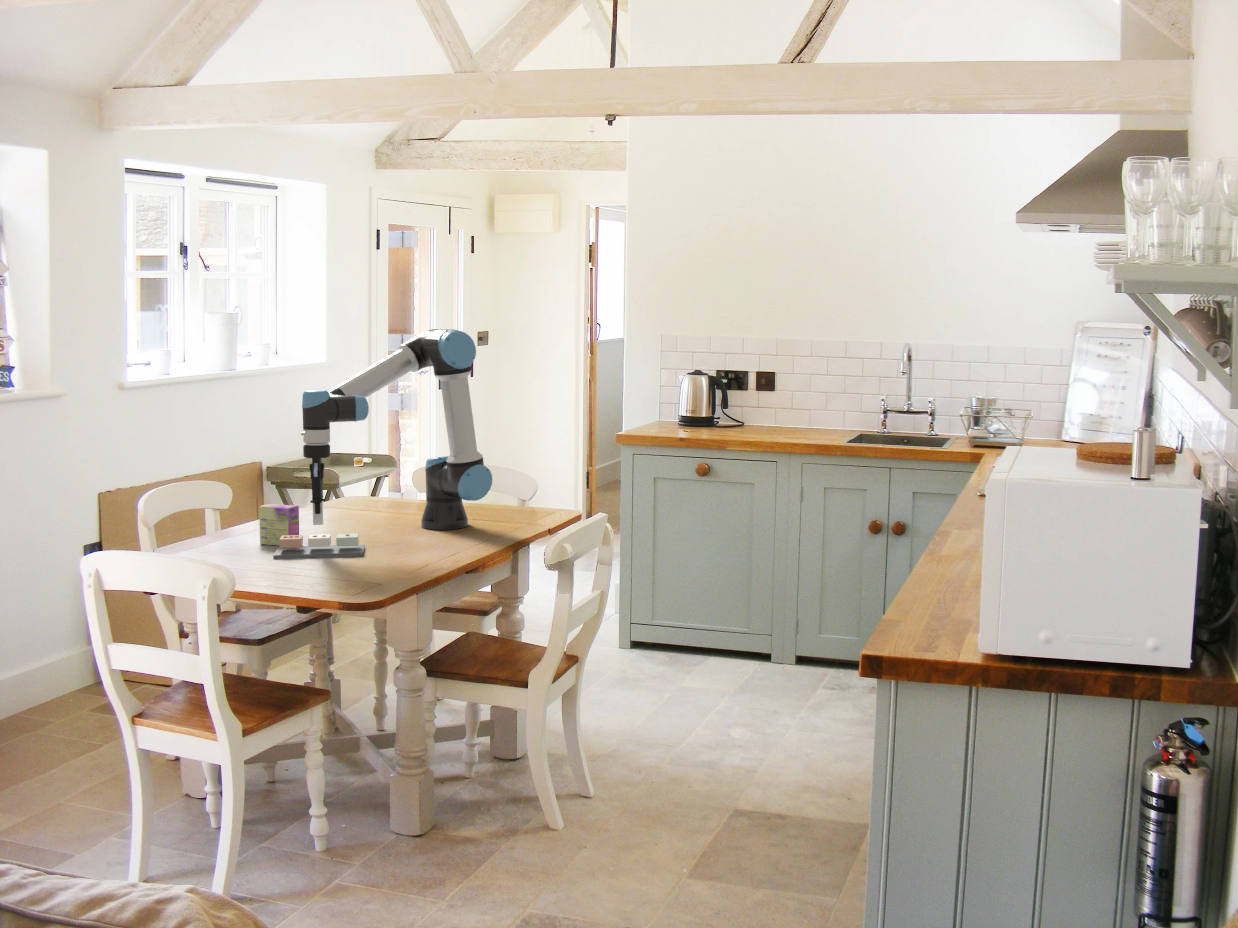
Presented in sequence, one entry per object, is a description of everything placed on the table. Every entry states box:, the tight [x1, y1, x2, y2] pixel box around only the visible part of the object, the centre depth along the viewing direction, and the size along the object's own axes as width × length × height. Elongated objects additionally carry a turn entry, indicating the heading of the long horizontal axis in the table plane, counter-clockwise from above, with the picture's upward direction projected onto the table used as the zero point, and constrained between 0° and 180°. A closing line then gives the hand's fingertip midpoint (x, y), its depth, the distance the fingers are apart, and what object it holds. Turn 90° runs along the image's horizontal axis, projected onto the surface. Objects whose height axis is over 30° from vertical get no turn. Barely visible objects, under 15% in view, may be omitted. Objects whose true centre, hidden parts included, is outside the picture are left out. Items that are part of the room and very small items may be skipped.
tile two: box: [307, 533, 332, 547], centre depth 349 cm, size 6×6×3 cm
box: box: [258, 503, 300, 547], centre depth 362 cm, size 10×6×12 cm, turn 71°
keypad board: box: [272, 544, 365, 560], centre depth 349 cm, size 25×12×1 cm, turn 100°
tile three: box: [279, 534, 304, 548], centre depth 347 cm, size 6×6×3 cm
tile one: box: [336, 532, 360, 546], centre depth 350 cm, size 6×6×3 cm
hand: (318, 524), depth 348 cm, fingers closed
